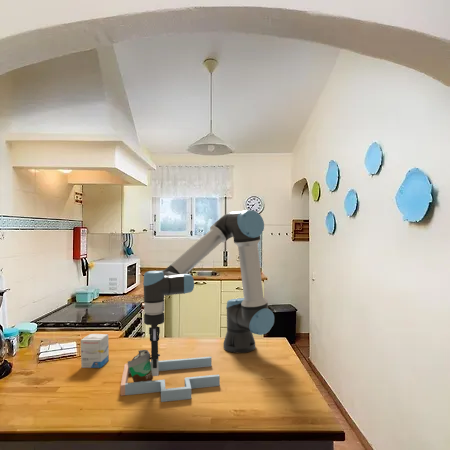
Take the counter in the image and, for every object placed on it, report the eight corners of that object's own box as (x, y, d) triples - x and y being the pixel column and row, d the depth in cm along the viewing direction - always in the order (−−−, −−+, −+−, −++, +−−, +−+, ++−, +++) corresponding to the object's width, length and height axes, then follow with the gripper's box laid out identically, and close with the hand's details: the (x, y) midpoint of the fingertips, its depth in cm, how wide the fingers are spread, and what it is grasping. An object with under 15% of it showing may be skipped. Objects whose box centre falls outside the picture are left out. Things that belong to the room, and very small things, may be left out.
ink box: (109, 360, 157) (109, 333, 157) (100, 368, 148) (100, 339, 148) (90, 360, 157) (90, 333, 157) (80, 367, 149) (80, 339, 149)
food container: (150, 386, 128) (143, 358, 128) (133, 389, 128) (126, 362, 129) (160, 371, 140) (153, 346, 140) (145, 375, 141) (138, 350, 141)
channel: (211, 364, 150) (210, 356, 150) (223, 395, 123) (223, 385, 123) (125, 372, 143) (125, 363, 143) (118, 406, 117) (118, 395, 117)
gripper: (144, 309, 142) (145, 369, 142) (143, 317, 129) (144, 383, 129) (163, 308, 143) (164, 367, 143) (164, 316, 130) (165, 381, 130)
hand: (154, 375), depth 136 cm, fingers closed
